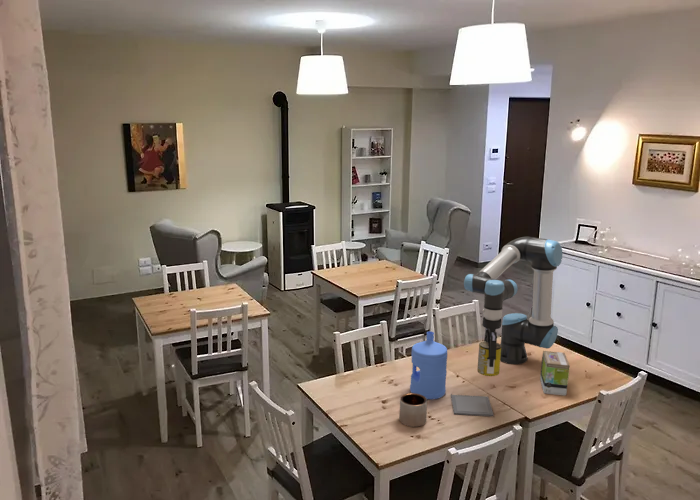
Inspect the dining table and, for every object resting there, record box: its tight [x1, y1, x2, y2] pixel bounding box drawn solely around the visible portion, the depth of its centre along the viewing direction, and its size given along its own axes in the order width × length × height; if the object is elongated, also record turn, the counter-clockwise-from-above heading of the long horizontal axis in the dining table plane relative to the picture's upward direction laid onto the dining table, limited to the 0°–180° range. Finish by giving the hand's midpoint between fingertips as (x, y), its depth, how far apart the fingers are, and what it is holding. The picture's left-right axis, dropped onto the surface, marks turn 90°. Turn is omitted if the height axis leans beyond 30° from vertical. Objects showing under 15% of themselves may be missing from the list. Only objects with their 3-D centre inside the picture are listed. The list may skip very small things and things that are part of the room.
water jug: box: [409, 331, 448, 400], centre depth 254 cm, size 16×16×28 cm
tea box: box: [539, 350, 571, 396], centre depth 262 cm, size 15×10×15 cm
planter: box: [398, 392, 428, 428], centre depth 232 cm, size 11×11×10 cm
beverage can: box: [476, 341, 501, 377], centre depth 243 cm, size 9×9×12 cm
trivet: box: [450, 394, 495, 417], centre depth 245 cm, size 16×16×1 cm
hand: (488, 368), depth 244 cm, fingers closed on beverage can, 9 cm apart
